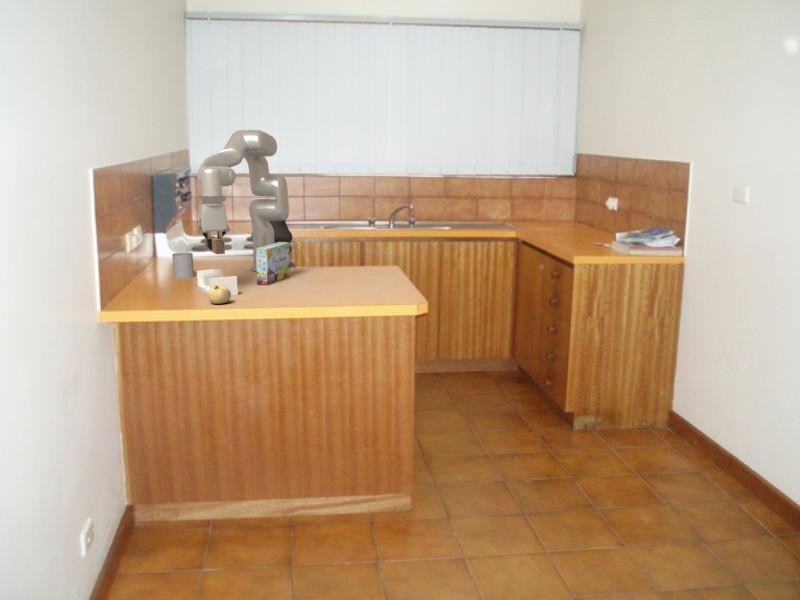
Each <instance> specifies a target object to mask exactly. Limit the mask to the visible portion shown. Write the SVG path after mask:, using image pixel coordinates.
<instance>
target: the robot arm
mask: <svg viewBox="0 0 800 600" xmlns="http://www.w3.org/2000/svg"><path fill="white" fill-rule="evenodd" d="M277 151H278V144H277V140H276V139H275V138H274V136H272V135H271V134H269V133H267V132H265V131H263V130H260V129H241V130H240V129H239V130H236V131H234V132H232V134H231V136H230V137H229V140H228V141H227V142H226V144H225V146H224V147H223V149H221V150H218V151H216V152H214V153H213V154H211V155H209V156H207V157H206V158H205V159H203V161H202V163H201V164H200V166H199V168H198V170H197V174H196V175H197V177H196V178H197V181H198V183H199V184H200V186H201V187H200V188H201V204H199V210H198V228H197V231H196V233H197V234H200V235H202V236H204V238H205V237H206V238H207V246H208V248H209V249H210V250H212V239H211V236H212V234H211V233H212V232H216V234H217V237H216V238H218V239H221V240H223V237H224V236H225V235H226V234H228V233H230V232H231V231H232V230H231V228H230V226H229V224H228V218H227V217H228V215H227V210H226V206H225V203H224V202H226V201H227V197H226V196H223V191H222V190H223V188H222V187H230V186H231V185H233V184H234V183H235V180H236V172H235V170H234V169H233V168H232V167H236V166H238V165H240V164H241V163H242V161H243V159H245V161H246V163H247V165H248V172H249V176H248V177H249V185H250V190H251V193H252V195H253V196H255V197H256V196H257V197H275V198H255V199H253V200H251V202H249V206H248V212H249V216H250V222H251V231H252V232H251V234H253V240H252V252H253V253H252V254H253V266H251V267H250V271H252V272H256V273H257V264H256V248H259V247H263V246H266V245H270V244H273V243H274V229H273V227H272V225H271V224H270V223H269V221H284V220H287V219H288V218H289V216H290V205H289V204H290V203H289V192H288V191H289V190H288V188H289V187H288V182H287V180H286V177H285V176H284V175H282V174H273V173H272V174H271V173H270V169H269V161H268V160H267V158H266V157H273V156H275V155H276V154H277Z"/></svg>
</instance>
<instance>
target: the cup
mask: <svg viewBox="0 0 800 600" xmlns="http://www.w3.org/2000/svg"><path fill="white" fill-rule="evenodd" d="M171 255H172V256H171V257H172V270H173V279H176V280H186V279H192V278H194V277H195V275H194V274H195V273H194V271H195V270H194V255H193V252H176V253H172V254H171Z"/></svg>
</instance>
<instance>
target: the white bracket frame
mask: <svg viewBox="0 0 800 600" xmlns="http://www.w3.org/2000/svg"><path fill="white" fill-rule="evenodd" d="M196 281H197V282H196V283H197V289H199V290H200V291H201V292H203V293H204V294H205V295H207V296H208V294H209V291H210V290H211V289H212V288H213V286H214V285H219V286H224V287H226V288H228V289H229V291H230V292H231V296H238V295H239V293H238V289H239V288H238V276H236V275H233V276H224V270H223V268H213V269H211V268H210V269H201V270H196Z"/></svg>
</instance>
